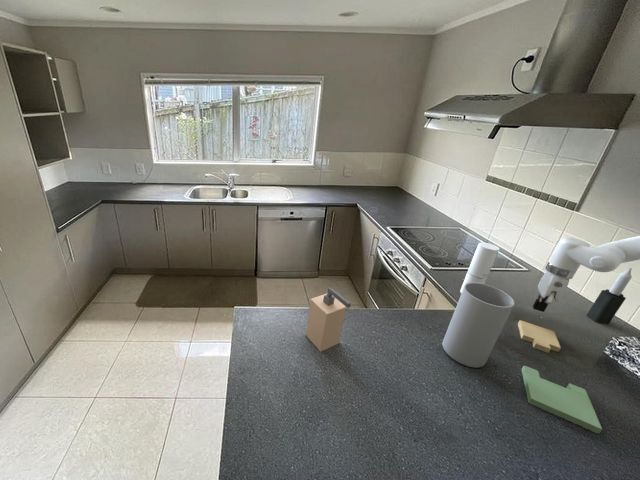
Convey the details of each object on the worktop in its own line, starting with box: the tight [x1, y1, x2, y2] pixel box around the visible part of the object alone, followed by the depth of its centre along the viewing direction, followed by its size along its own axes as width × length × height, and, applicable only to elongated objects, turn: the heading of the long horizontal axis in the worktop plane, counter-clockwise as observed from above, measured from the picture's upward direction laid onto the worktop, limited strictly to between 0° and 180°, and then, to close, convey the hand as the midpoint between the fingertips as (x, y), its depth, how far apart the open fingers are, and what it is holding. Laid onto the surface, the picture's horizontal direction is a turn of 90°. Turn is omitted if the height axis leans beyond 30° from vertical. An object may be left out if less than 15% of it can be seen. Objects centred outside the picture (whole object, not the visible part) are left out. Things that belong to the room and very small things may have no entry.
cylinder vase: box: [442, 283, 516, 368], centre depth 92 cm, size 12×12×25 cm
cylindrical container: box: [459, 241, 500, 295], centre depth 124 cm, size 7×7×25 cm
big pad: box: [521, 365, 603, 435], centre depth 82 cm, size 14×14×2 cm
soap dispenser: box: [305, 287, 352, 353], centre depth 94 cm, size 13×9×22 cm
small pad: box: [517, 319, 561, 354], centre depth 104 cm, size 10×13×2 cm
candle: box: [586, 267, 633, 325], centre depth 111 cm, size 5×5×25 cm
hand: (538, 309), depth 111 cm, fingers closed
